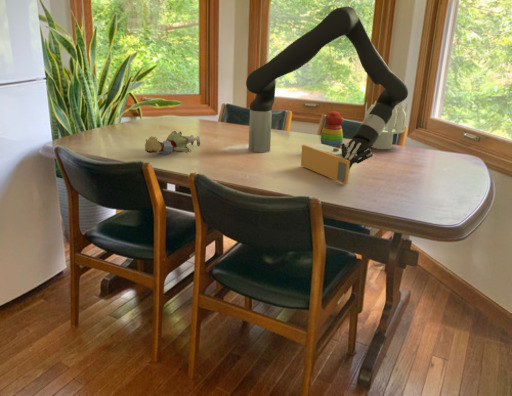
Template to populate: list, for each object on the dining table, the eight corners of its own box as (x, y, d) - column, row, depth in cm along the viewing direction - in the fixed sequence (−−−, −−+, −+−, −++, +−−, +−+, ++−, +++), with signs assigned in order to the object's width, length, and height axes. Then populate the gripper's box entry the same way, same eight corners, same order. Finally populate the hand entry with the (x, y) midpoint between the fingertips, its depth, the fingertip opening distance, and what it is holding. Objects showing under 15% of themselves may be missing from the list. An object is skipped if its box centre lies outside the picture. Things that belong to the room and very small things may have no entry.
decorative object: (344, 151, 203) (348, 105, 196) (371, 141, 225) (375, 99, 218) (383, 158, 193) (389, 109, 186) (407, 147, 215) (413, 103, 208)
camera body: (303, 166, 177) (304, 143, 174) (318, 163, 181) (319, 141, 178) (337, 177, 164) (339, 153, 161) (352, 173, 169) (355, 150, 166)
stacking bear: (342, 156, 194) (346, 113, 188) (318, 154, 195) (321, 112, 190) (343, 150, 204) (347, 110, 198) (320, 149, 205) (323, 108, 200)
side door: (299, 165, 175) (300, 144, 173) (302, 165, 176) (304, 144, 174) (343, 184, 154) (345, 161, 151) (347, 183, 155) (349, 160, 152)
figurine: (174, 141, 211) (124, 152, 187) (174, 123, 208) (123, 131, 184) (218, 151, 199) (171, 164, 175) (218, 131, 196) (171, 141, 172)
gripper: (389, 140, 158) (362, 181, 155) (358, 134, 168) (333, 171, 164) (381, 126, 153) (353, 168, 150) (350, 120, 163) (323, 159, 160)
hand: (342, 169), depth 157 cm, fingers closed
